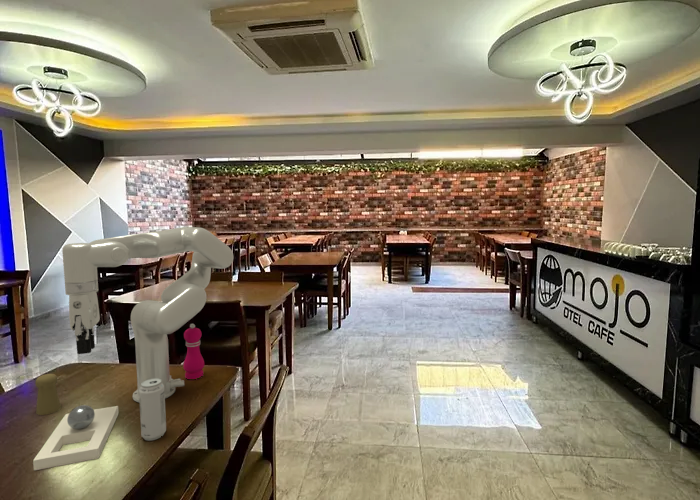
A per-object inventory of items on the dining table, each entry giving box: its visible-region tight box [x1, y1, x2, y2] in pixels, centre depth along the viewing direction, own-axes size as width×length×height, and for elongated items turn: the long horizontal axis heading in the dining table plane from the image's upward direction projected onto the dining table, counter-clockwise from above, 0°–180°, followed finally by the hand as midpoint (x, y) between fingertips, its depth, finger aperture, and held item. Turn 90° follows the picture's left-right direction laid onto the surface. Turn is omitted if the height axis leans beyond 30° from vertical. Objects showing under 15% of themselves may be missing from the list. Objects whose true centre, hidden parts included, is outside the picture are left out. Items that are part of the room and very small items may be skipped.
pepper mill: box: [182, 323, 205, 380], centre depth 138 cm, size 7×7×20 cm
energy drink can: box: [138, 378, 167, 442], centre depth 102 cm, size 6×6×15 cm
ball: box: [67, 404, 95, 430], centre depth 101 cm, size 6×6×6 cm
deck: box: [32, 405, 119, 471], centre depth 101 cm, size 13×22×2 cm, turn 21°
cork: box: [34, 373, 62, 416], centre depth 115 cm, size 6×6×11 cm
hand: (86, 350), depth 107 cm, fingers open, 2 cm apart
